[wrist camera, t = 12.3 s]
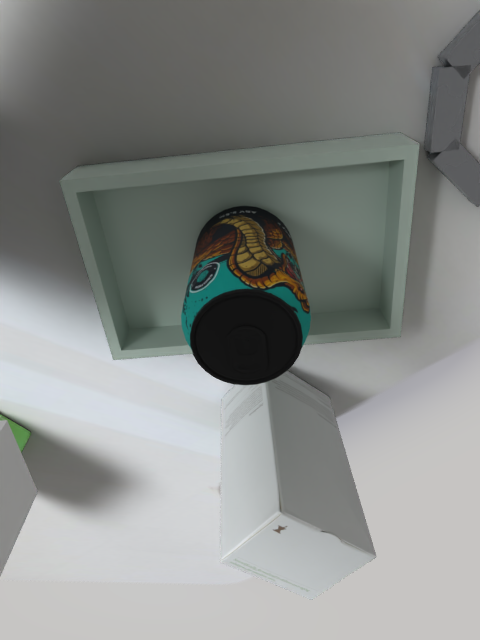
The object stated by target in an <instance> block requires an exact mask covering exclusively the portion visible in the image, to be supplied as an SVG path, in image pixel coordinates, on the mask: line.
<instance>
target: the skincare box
mask: <svg viewBox="0 0 480 640" xmlns="http://www.w3.org/2000/svg"><path fill="white" fill-rule="evenodd" d="M220 508H221V510H220V533H221V536H220V563H223V564H225V565H228V566H230V567H233V568H235V569H238V570H240V571H243V572H245V573H247V574H250V575H252V576H255V577H257V578H260V579H262V580H265V581H267V582H270V583H272V584H275V585H277V586H279V587H282V588H284V589H286V590H289V591H292V592H294V593H296V594H298V595H301V596H303V597H305V598H308V599H310V600H312V599H314V598H315V597H317V596H319V595H321V594H322V593H324V592H325V591H327V590H328V589H329V588H331V587H332V586H334V585H335V584H336V583H338V582H340V581H341V580H342V579H344V578H345V577H347V576H348V575H350V574H351V573H353V572H354V571H356V570H357V569H359V568H361V567H362V566H364V565H365V564H367V563H368V562H370V561H372V560H373V559H375V558H376V553H375V550H374V547H373V543H372V540H371V537H370V533H369V530H368V526H367V523H366V519H365V516H364V513H363V509H362V506H361V503H360V499H359V496H358V493H357V489H356V486H355V482H354V479H353V476H352V472H351V469H350V465H349V462H348V459H347V455H346V452H345V448H344V445H343V442H342V439H341V435H340V431H339V428H338V425H337V421H336V418H335V414H334V411H333V408H332V404H331V401H330V397H328V396H327V395H325V394H324V393H322V392H320V391H319V390H317V389H316V388H314V387H313V386H311V385H309V384H308V383H306V382H305V381H303V380H301V379H300V378H298V377H297V376H295V375H293V374H292V373H290V372H289V371H286V372H285V373H283V374H282V375H280V376H279V377H277V378H275V379H273V380H270V381H268V382H265V383H261V384H257V385H235V386H234V387H233V388H232V389H231V390H230V391H229V392H228V393H227V394H226V395H225V396H224V397H223V398H222V400H221V507H220Z"/></svg>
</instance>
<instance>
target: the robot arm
mask: <svg viewBox="0 0 480 640" xmlns="http://www.w3.org/2000/svg"><path fill="white" fill-rule="evenodd" d="M37 492H38V491H37V488H36V486H35V484H34V481H33V479H32V477H31V474H30V472H29V470H28V467H27V465H26V463H25V460H24V458H23V456H22V453H21V451H20V449H19V446H18V444H17V442H16V440H15V437H14V435H13V433H12V430H11V428H10V426H9V423H8V421H7V420H0V576H1V573H2V571H3V569H4V567H5V564H6V562H7V560H8V558H9V555H10V553H11V551H12V549H13V546H14V544H15V542H16V540H17V537H18V535H19V533H20V530H21V528H22V526H23V524H24V521H25V519H26V517H27V515H28V512H29V510H30V508H31V506H32V503H33V501H34V499H35V497H36V494H37Z"/></svg>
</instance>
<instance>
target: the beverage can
mask: <svg viewBox="0 0 480 640" xmlns="http://www.w3.org/2000/svg"><path fill="white" fill-rule="evenodd" d="M310 322H311V313H310V306H309V302H308V298H307V294H306V290H305V287H304V283H303V279H302V275H301V271H300V267H299V263H298V260H297V256H296V252H295V248H294V244H293V240H292V238H291V235H290V233H289V231H288V229H287V228H286V226H285V225H284V223H283V222H282V221H281V220H280V219H279V218H278V217H276V216H275V215H274V214H272V213H270V212H268V211H267V210H264V209H261V208H258V207H252V206H237V207H232V208H229V209H225V210H223V211H221V212H220V213H218V214H216V215H214V216H213V217H212V218H211V219H210V220H209V221H208V222H207V223H206V224H205V226H204V227H203V228H202V230H201V232H200V234H199V236H198V238H197V243H196V247H195V252H194V256H193V261H192V266H191V270H190V275H189V279H188V284H187V289H186V293H185V298H184V303H183V308H182V313H181V324H182V330H183V333H184V336H185V339H186V341H187V343H188V345H189V347H190V348H191V350H192V352H193V355H194V357H195V359H196V360H197V362H198V364H199V365H200V366H201V367H202V368H203V369H204V370H205V371H206V372H208V373H209V374H210V375H212V376H213V377H215V378H217V379H219V380H221V381H224V382H227V383H231V384H236V385H257V384H261V383H265V382H268V381H270V380H273V379H275V378H277V377H279V376H280V375H282V374H283V373H285V372H286V371H287V370H288V369H289V368H290V367H291V366H292V365H293V364H294V362H295V361H296V359H297V358H298V356H299V354H300V351H301V348H302V346H303V344H304V343H305V341H306V338H307V336H308V333H309V330H310Z"/></svg>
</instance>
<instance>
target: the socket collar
mask: <svg viewBox="0 0 480 640" xmlns="http://www.w3.org/2000/svg"><path fill="white" fill-rule="evenodd" d="M438 58H439V59H440V60H441V61H442V63H443V64H444V65H445V66H438V67H433V68H432V78H431V87H430V97H429V107H428V116H427V126H426V135H425V145H424V149H425V150H427V151H428V152H430V154H429V155H428V156H427V158H428V159H429V160H430V161H431V162H432V163H433V164H434V165H435V166H436V167H437V168H438V169H439V170H440V171H441V172H442V173H443V174H444V175H445V176H446V177H447V178H448V179H449V180H450V181H451V182H452V184H453V185H454V186H455V187H456V188H457V189H458V190H459V191H460V192H461V193H462V194H463V195H464V196H465V197H466V198H467V199H468V200H469V201H470V202H471V203H473V204H474V205H476V206H477V207H478V206H479V205H480V164H479V163H478V162H477V161H476V160H475V159H474V157H473V156H472V155H471V154H470V153H469V152H468V151H467V150H466V149H465V148H464V147H463V146H462V144H461V143H460V139H461V132H462V125H463V118H464V111H465V104H466V97H467V90H468V83H469V76H470V72H471V71H472V70H473V69H474V68H475V67H476V66H477V65H478V64H479V63H480V10H479V11H478V12H477V14H476V15H475V16H474V17H473V18H472V19H471V20H470V21H469V22H468V23H467V25H466V26H465V27H464V28H463V29H462V30H461V31H460V32H459V33H458V34H457V36H456V37H455V38H454V39H453V40H452V41H451V42H450V43H449V44H448V46H447V47H446V48H445V49H444V50H443V51H442V52H441V53H440V54H439V55H438Z"/></svg>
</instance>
